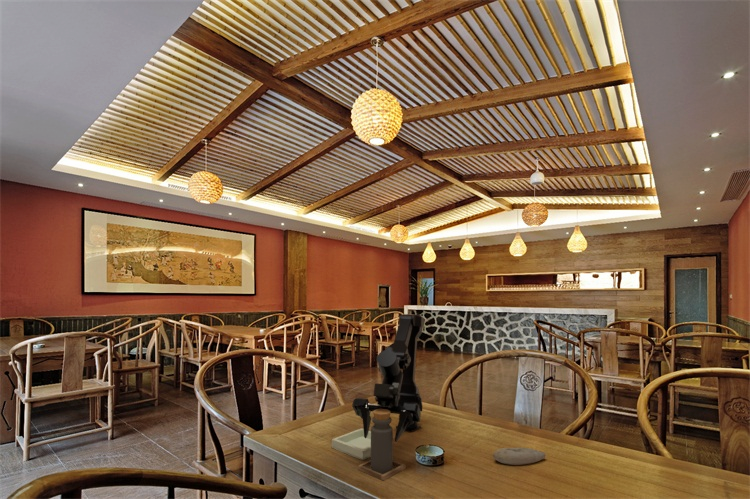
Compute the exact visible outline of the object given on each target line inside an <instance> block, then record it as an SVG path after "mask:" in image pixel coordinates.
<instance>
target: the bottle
mask: <svg viewBox="0 0 750 499" xmlns="http://www.w3.org/2000/svg"><path fill="white" fill-rule="evenodd" d="M372 414H373V417H371V421H372V424H373V425H372V426H371V427H370V431H371V457H370V460H371V465H370V469H371V470H374V471H376V472H378V473H381V474H385V473H387V472H389V471H391V470H393V469H394V468H393V467H394V466H393V458H394V456H393V453H394V452H393V451H394V450H393V446H394V445H393V439H394V438H393V437H394V436H393V435H394V434H393V427H392V426H391V425H390V424H391V423H392V417H391V413H390V410H387V409H376V410H374V411H372Z"/></svg>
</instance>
